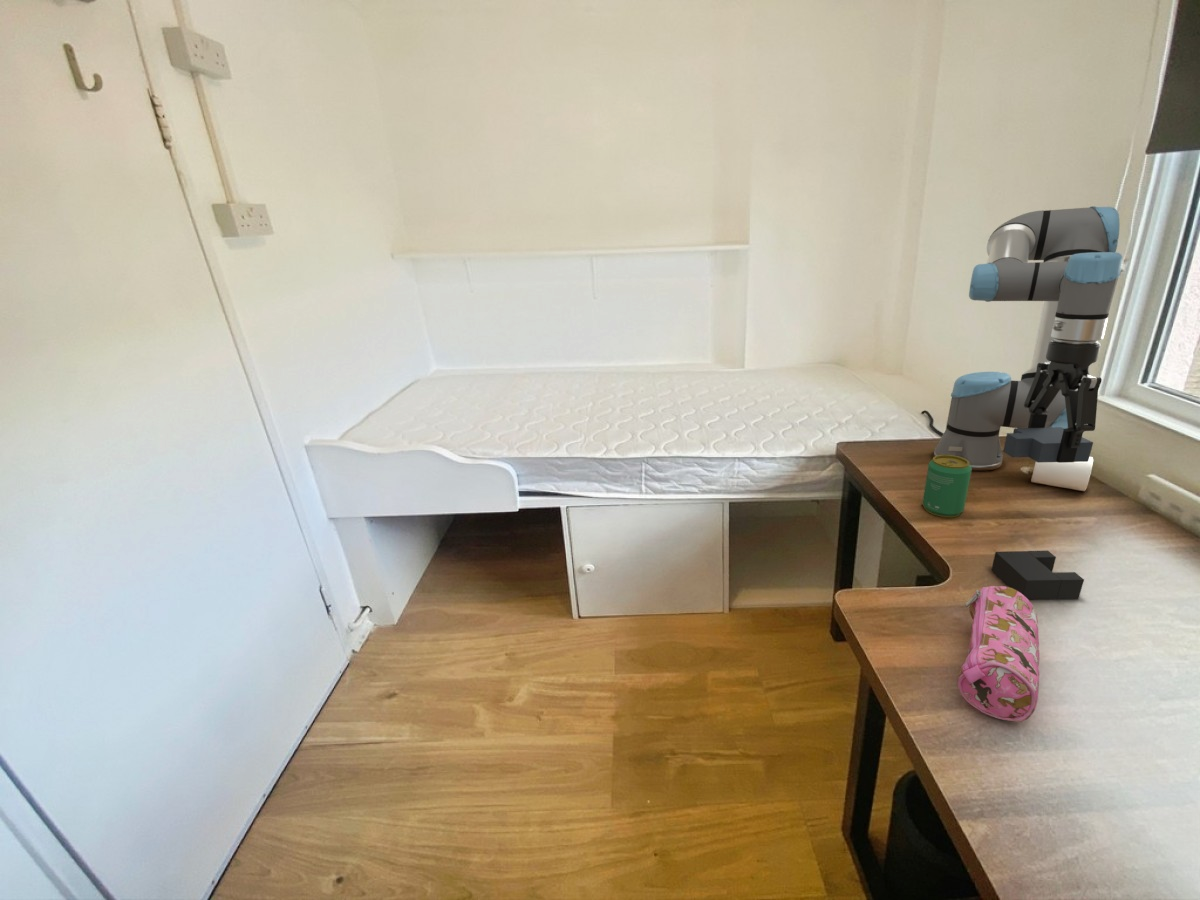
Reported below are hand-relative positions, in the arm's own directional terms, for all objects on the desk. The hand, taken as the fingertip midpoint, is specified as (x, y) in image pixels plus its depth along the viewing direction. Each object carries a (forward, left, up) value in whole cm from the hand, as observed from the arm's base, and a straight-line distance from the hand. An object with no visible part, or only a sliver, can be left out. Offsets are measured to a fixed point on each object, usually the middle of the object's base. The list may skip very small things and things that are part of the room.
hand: (1047, 452), depth 111 cm
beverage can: (-6, -15, -16) cm, 23 cm away
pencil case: (+43, -31, -16) cm, 55 cm away
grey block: (0, -2, 0) cm, 2 cm away
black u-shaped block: (+22, -13, -16) cm, 30 cm away
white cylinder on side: (-18, +17, -16) cm, 30 cm away
